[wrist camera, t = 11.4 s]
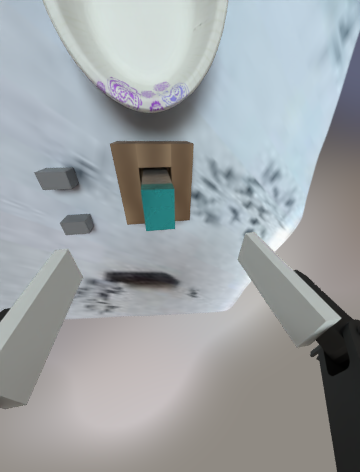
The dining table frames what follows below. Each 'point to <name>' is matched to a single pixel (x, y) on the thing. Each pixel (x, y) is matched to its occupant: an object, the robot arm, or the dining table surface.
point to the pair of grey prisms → (65, 180)
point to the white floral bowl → (141, 46)
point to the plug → (158, 199)
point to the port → (153, 155)
